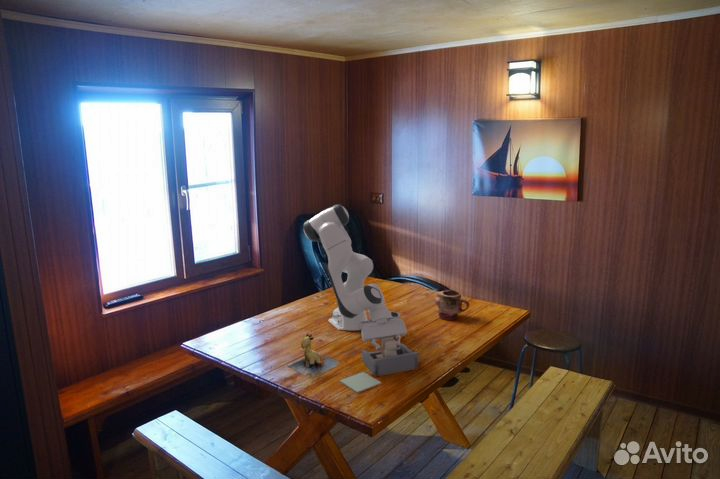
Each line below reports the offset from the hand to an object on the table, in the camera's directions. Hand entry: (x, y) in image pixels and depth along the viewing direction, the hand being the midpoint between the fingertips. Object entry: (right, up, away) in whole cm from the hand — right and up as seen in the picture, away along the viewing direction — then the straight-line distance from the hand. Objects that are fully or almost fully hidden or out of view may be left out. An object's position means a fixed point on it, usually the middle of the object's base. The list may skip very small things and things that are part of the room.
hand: (388, 347), depth 228 cm
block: (0, -5, +1) cm, 5 cm away
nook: (0, -7, +2) cm, 8 cm away
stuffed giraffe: (-32, -9, +2) cm, 33 cm away
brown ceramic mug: (+36, +4, +55) cm, 66 cm away
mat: (-12, -11, -14) cm, 22 cm away
